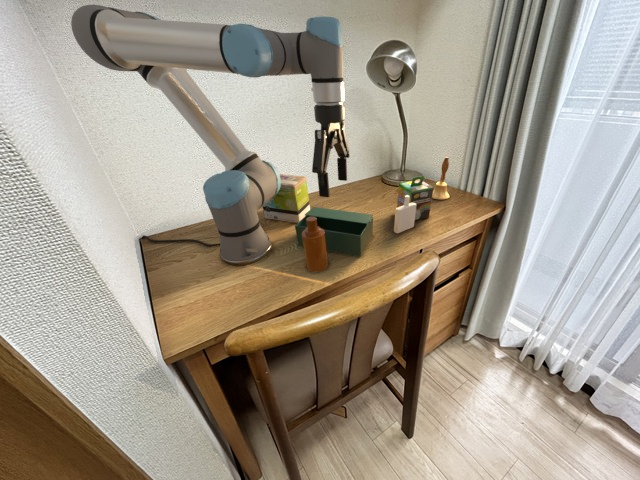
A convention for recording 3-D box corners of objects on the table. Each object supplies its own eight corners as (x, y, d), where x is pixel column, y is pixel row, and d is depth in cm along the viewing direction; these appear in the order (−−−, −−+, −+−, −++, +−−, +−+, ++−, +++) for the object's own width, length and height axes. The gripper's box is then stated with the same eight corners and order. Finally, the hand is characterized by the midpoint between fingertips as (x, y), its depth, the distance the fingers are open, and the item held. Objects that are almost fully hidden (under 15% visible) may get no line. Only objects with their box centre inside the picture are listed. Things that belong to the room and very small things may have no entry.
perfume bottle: (410, 224, 92) (414, 192, 85) (414, 226, 91) (418, 194, 84) (393, 231, 89) (395, 198, 82) (397, 234, 88) (400, 200, 80)
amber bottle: (303, 270, 73) (294, 222, 65) (312, 258, 78) (306, 212, 69) (322, 274, 72) (316, 225, 63) (331, 261, 76) (326, 215, 67)
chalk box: (416, 207, 103) (421, 169, 95) (430, 217, 96) (436, 177, 88) (395, 212, 101) (398, 173, 92) (408, 222, 94) (412, 181, 85)
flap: (304, 215, 84) (304, 214, 84) (313, 207, 88) (313, 206, 88) (367, 224, 78) (367, 223, 77) (372, 215, 82) (372, 214, 82)
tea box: (264, 219, 100) (254, 181, 91) (278, 208, 107) (270, 172, 98) (300, 224, 96) (293, 184, 87) (311, 212, 103) (306, 175, 94)
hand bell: (445, 191, 116) (452, 154, 106) (452, 199, 109) (460, 159, 99) (426, 192, 115) (432, 155, 106) (433, 200, 108) (439, 160, 99)
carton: (298, 245, 84) (294, 225, 79) (315, 227, 93) (313, 208, 89) (360, 257, 77) (360, 236, 73) (372, 236, 87) (373, 216, 83)
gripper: (334, 98, 74) (338, 173, 87) (289, 109, 56) (302, 202, 68) (359, 98, 72) (359, 175, 85) (321, 110, 54) (328, 206, 66)
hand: (334, 187), depth 77 cm, fingers open, 13 cm apart
